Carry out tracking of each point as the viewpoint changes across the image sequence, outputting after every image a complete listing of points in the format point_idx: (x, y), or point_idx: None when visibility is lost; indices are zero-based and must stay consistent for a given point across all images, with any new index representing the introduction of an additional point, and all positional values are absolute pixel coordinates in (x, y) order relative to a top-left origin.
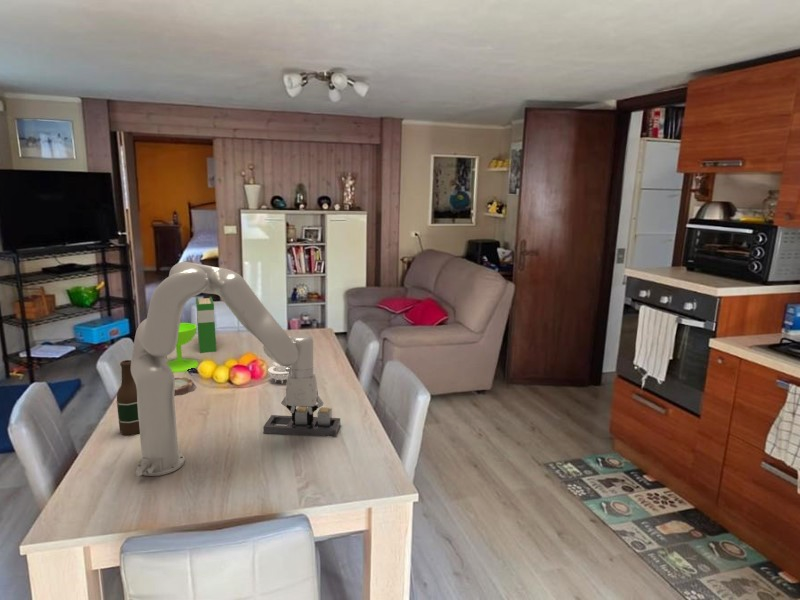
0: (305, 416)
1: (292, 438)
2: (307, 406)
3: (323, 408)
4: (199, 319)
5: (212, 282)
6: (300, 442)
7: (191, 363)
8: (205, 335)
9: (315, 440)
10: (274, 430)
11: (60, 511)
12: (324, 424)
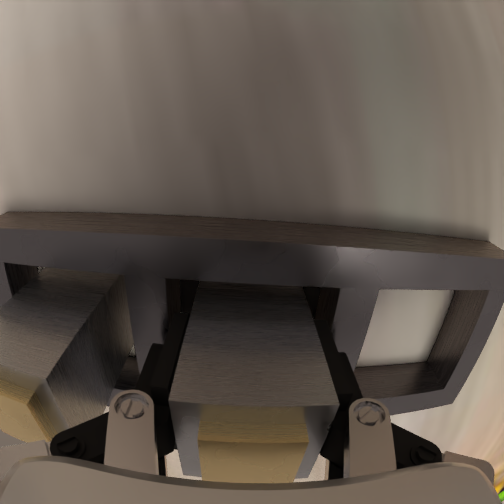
0: (196, 364)
1: (306, 160)
2: (123, 474)
3: (28, 432)
4: None
5: None
6: (223, 91)
7: (501, 498)
8: None
9: (108, 139)
10: (453, 244)
11: None
12: (47, 298)
